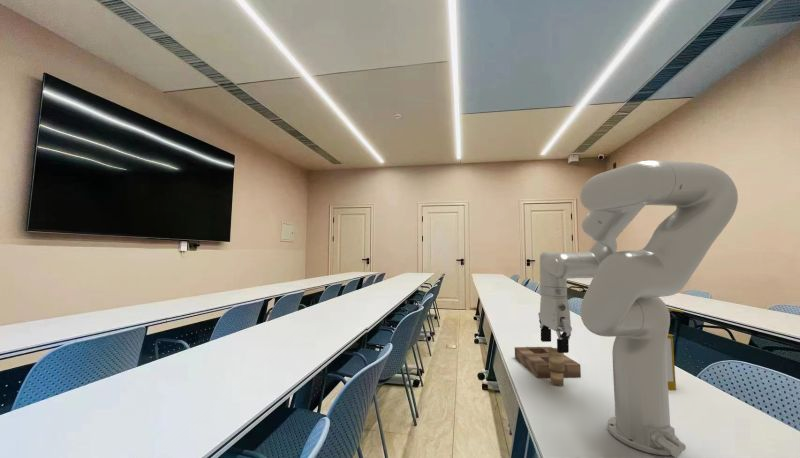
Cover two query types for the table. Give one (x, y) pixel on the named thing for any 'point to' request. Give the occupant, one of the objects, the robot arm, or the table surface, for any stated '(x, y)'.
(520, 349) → the board
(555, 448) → the table surface
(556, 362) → the peg
